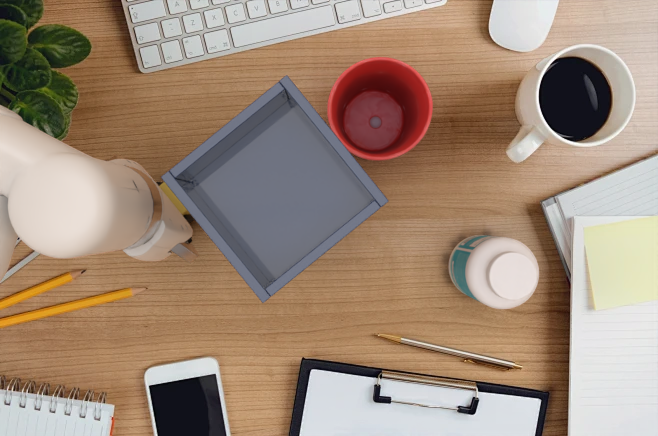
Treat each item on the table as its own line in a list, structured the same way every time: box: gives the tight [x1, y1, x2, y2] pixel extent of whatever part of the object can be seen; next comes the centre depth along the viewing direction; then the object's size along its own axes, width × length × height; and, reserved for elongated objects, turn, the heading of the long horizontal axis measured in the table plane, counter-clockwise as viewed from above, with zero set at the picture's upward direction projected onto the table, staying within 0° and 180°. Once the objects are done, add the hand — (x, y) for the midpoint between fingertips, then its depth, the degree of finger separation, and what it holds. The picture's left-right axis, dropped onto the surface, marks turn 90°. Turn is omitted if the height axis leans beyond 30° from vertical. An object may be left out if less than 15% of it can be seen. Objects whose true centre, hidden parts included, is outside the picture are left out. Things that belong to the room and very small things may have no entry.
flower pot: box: [326, 56, 434, 162], centre depth 67 cm, size 11×11×10 cm
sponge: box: [159, 181, 191, 215], centre depth 70 cm, size 4×5×6 cm
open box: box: [160, 74, 390, 304], centre depth 50 cm, size 13×13×5 cm
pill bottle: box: [448, 234, 540, 310], centre depth 66 cm, size 8×7×14 cm
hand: (170, 209), depth 72 cm, fingers closed on sponge, 4 cm apart
